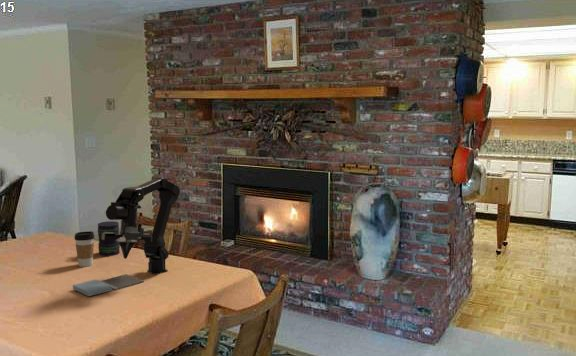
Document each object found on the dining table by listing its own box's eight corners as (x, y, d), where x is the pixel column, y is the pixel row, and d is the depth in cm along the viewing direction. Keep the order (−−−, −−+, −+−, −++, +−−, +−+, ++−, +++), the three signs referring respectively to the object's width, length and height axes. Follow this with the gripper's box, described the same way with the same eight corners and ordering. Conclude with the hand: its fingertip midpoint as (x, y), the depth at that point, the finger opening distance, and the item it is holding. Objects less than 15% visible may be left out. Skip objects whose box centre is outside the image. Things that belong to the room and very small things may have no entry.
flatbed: (126, 275, 216) (126, 273, 216) (143, 282, 208) (143, 280, 208) (97, 282, 206) (97, 281, 206) (115, 290, 198) (115, 288, 198)
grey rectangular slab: (95, 279, 205) (72, 285, 198) (111, 286, 197) (88, 292, 190) (95, 284, 205) (73, 289, 198) (111, 291, 197) (88, 297, 190)
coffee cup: (88, 268, 225) (87, 235, 223) (71, 266, 227) (70, 234, 225) (99, 262, 233) (98, 230, 231) (82, 261, 235) (81, 229, 233)
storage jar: (104, 250, 254) (103, 220, 252) (123, 251, 253) (122, 221, 251) (94, 255, 244) (93, 225, 242) (113, 256, 243) (112, 226, 241)
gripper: (109, 220, 191) (105, 261, 191) (158, 222, 201) (154, 262, 200) (103, 217, 200) (99, 257, 200) (149, 219, 210) (146, 257, 210)
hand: (125, 258), depth 202 cm, fingers closed
